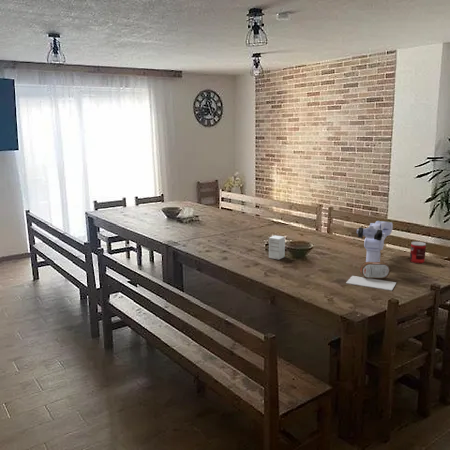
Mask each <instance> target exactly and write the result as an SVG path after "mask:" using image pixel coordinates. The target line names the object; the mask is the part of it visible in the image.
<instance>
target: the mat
mask: <svg viewBox="0 0 450 450" xmlns="http://www.w3.org/2000/svg"><path fill="white" fill-rule="evenodd" d="M345 283H346V284H348V285H355V286H360V287H366V288H372V289H378V290H385V291H390V292H392V291H393V290H394V288H395V286H396V285H397V282H395V281H390V280H383V279H378V278H365V277H364V276H356V275H351V276H350V277H349V278H348V280H346V282H345Z"/></svg>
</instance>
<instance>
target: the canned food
mask: <svg viewBox="0 0 450 450" xmlns="http://www.w3.org/2000/svg"><path fill="white" fill-rule="evenodd" d="M426 249H427V244H426V242H423V241H411V243H410V253H409V254H410V255H409V261H410V262H411V263H413V264H423V263H425V261H426V252H427V251H426Z"/></svg>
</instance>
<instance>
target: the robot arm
mask: <svg viewBox="0 0 450 450" xmlns="http://www.w3.org/2000/svg"><path fill="white" fill-rule="evenodd" d="M393 226H394V224H393V221H391V222H390V221H383V220H381V221H380V220H376V221H375V222H370V223H369V226H368V227H366V228H364V227H360V226H359V227H358V228H357V229H356V234H357V237H358V238H361V239H363V237H365V238H364V243H363V247H364V249H365V250H366V256H365V257H366V258H365V262H381V251H382V250H383V249H384V246H385V239H386V238H387V236H390V235H391V234H392V233H393Z"/></svg>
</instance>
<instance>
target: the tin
mask: <svg viewBox="0 0 450 450" xmlns="http://www.w3.org/2000/svg"><path fill="white" fill-rule="evenodd" d="M359 272H360V274H361V276H362V277H364V278H370V279H378V280H383V279H386V278H387V277H388V276H389V275H390V272H391V269H390V266H389V265H388V264H387V263H386V262H382V261H380V262H366V261H365V262H364V263H362V264H361V265H360V268H359Z"/></svg>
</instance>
